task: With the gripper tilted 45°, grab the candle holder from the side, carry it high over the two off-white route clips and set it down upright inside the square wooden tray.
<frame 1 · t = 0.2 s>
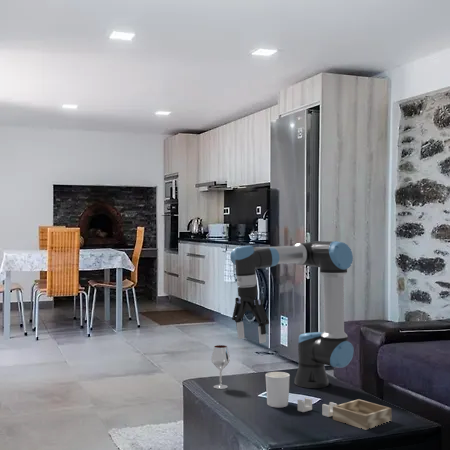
hand: (251, 340, 236), 27 cm above the table, tool pointing down, fingers open, 13 cm apart
square wooden tray: (362, 420, 225), on the table
route clips: (317, 412, 234), on the table
wineglass: (220, 387, 271), on the table
candle holder: (277, 405, 245), on the table
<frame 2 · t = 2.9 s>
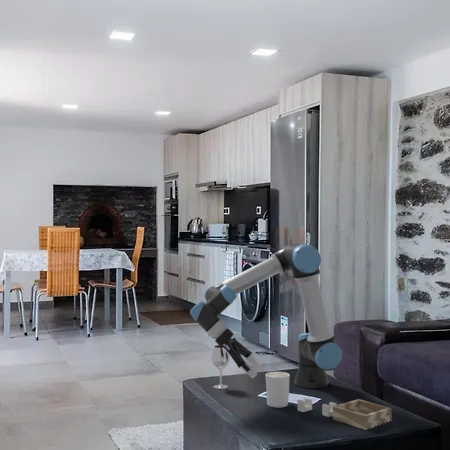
hand: (257, 372, 246), 13 cm above the table, tool tilted 45°, fingers open, 13 cm apart
nothing on the table moved.
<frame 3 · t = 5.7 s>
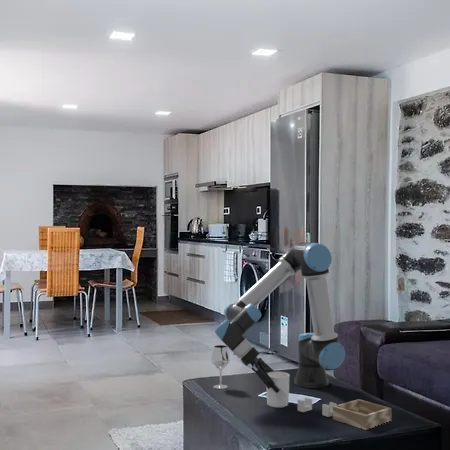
hand: (285, 394, 244), 4 cm above the table, tool tilted 45°, fingers closed on candle holder, 9 cm apart
candle holder: (277, 405, 245), on the table, touching gripper
everything else where it was.
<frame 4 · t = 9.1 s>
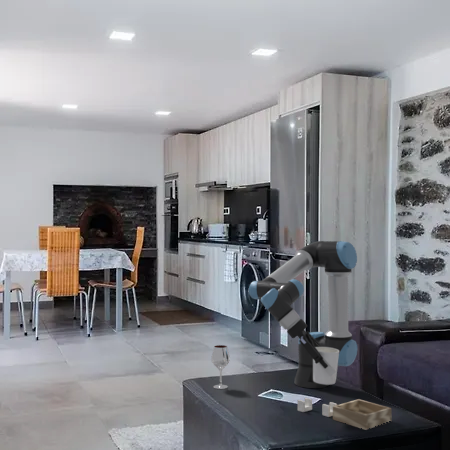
hand: (333, 370, 227), 18 cm above the table, tool tilted 40°, fingers closed on candle holder, 9 cm apart
candle holder: (324, 382, 228), point 13 cm above the table, touching gripper
everything else where it was.
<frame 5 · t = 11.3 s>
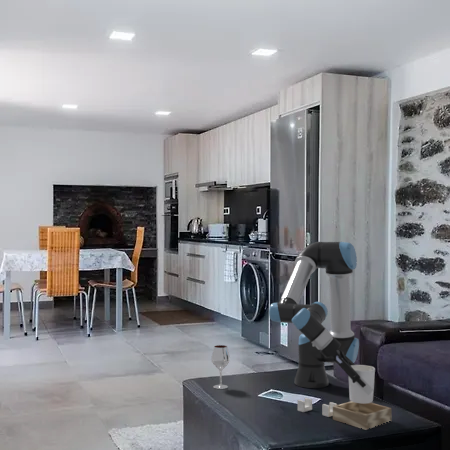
hand: (370, 389, 224), 12 cm above the table, tool tilted 45°, fingers closed on candle holder, 9 cm apart
candle holder: (361, 401, 224), point 7 cm above the table, touching gripper
everything else where it was.
when the fingers open (7 cm above the table, at t = 12.8 s): candle holder drops 1 cm, resting on square wooden tray.
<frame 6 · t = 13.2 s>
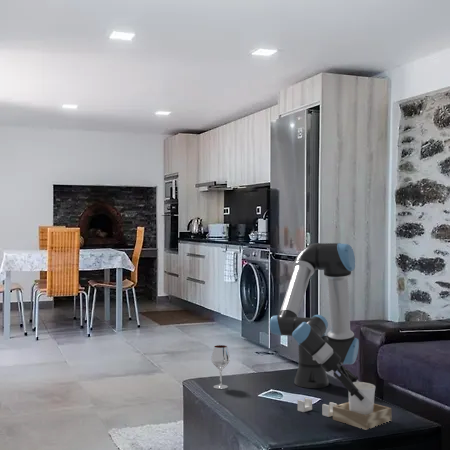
hand: (368, 400, 224), 7 cm above the table, tool tilted 45°, fingers open, 13 cm apart
candle holder: (361, 418, 225), point 1 cm above the table, touching square wooden tray
everything else where it was.
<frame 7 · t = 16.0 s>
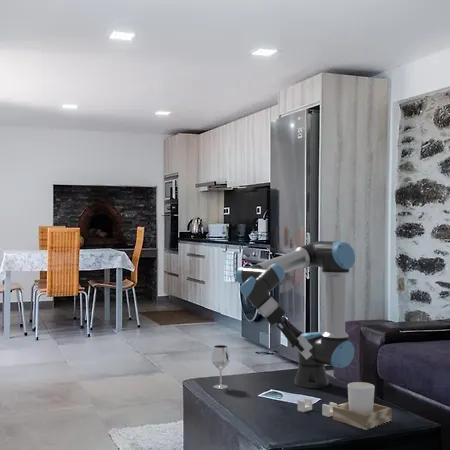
hand: (309, 353, 234), 23 cm above the table, tool tilted 45°, fingers open, 13 cm apart
nothing on the table moved.
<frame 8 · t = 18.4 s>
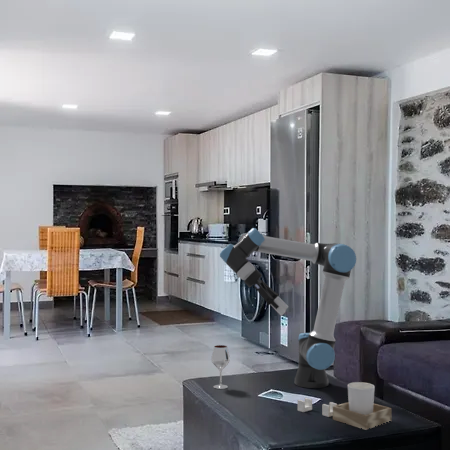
hand: (285, 311, 256), 36 cm above the table, tool tilted 45°, fingers open, 13 cm apart
nothing on the table moved.
at the end: candle holder 0.3 cm off-centre on the square wooden tray, point 0.6 cm above the square wooden tray's base; candle holder tilted 0°; the gripper is holding nothing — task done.
